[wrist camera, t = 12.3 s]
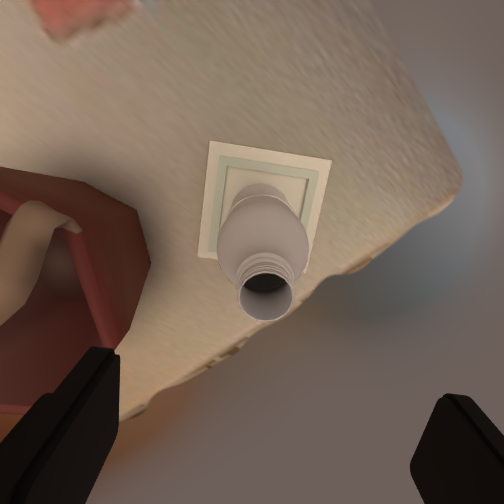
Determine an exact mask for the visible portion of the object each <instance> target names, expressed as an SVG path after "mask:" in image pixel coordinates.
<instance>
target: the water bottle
mask: <svg viewBox="0 0 504 504" xmlns="http://www.w3.org/2000/svg"><path fill="white" fill-rule="evenodd" d="M308 255H309V242H308V236H307V233H306V230H305V228H304V226H303V224H302V223H301V221H300V220H299V219H298V217H297V215H296V213H295V211H294V210H293V208H292V207H291V206H290V205H289V203H288V201H287V199H286V197H285V196H284V194H283V193H282V192H281V191H279V190H278V189H277V188H275V187H273V186H271V185H268V184H261V183H259V184H253V185H250V186H247V187H245V188H244V189H243V190H241V191H240V192H239V193H238V194H237V195H236V197H235V198H234V200H233V202H232V205H231V208H230V210H229V212H228V213H227V216H226V218H225V221H224V224H223V226H222V228H221V229H220V232H219V235H218V239H217V257H218V261H219V264H220V267H221V269H222V271H223V273H224V274H225V276H226V277H227V278H228V279H229V281H230V282H231V283H232V284H234V285H235V286H236V289H237V291H238V300H239V304H240V307H241V309H242V310H243V311H244V312H245V313H246V315H247V316H249V317H251V318H253V319H255V320H257V321H264V322H269V321H274V320H278V319H279V318H281V317H283V316H284V315H286V314H287V313H288V311H289V310H290V308H291V307H292V305H293V302H294V296H295V292H294V284H295V281H296V280H297V279H298V278H299V277H300V275H301V274H302V272H303V271H304V269H305V266H306V264H307V260H308Z"/></svg>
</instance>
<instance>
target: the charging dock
mask: <svg viewBox="0 0 504 504" xmlns="http://www.w3.org/2000/svg"><path fill="white" fill-rule="evenodd" d="M331 162H332V160H326V159H319V158H313V157H307V156H301V155H295V154H289V153H283V152H277V151H271V150H265V149H259V148H253V147H247V146H241V145H235V144H229V143H223V142H217V141H211V140H210V145H209V154H208V163H207V172H206V182H205V191H204V200H203V209H202V219H201V228H200V237H199V246H198V256H197V257H203V258H209V259H216V260H218V257H217V239H218V235H219V232H220V229H221V228H222V226H223V224H224V221H225V218H226V216H227V213H228V212H229V210H230V208H231V205H232V202H233V200H234V198H235V197H236V195H237V194H238V193H239V192H240V191H241V190H243V189H244V188H245V187H247V186H250V185H253V184H259V183H261V184H268V185H271V186H273V187H275V188H277V189H278V190H279V191H281V192H282V193H283V194H284V196H285V197H286V199H287V201H288V203H289V205H290V206H291V207H292V208H293V210H294V211H295V213H296V215H297V217H298V219H299V220H300V221H301V223H302V224H303V226H304V228H305V230H306V233H307V236H308V242H309V255H308V260H307V264H306V266H305V269H304V271H303V272H302V273H306V272H307V267H308V263H309V259H310V254H311V250H312V245H313V241H314V237H315V232H316V228H317V223H318V219H319V215H320V210H321V206H322V201H323V197H324V193H325V188H326V184H327V179H328V175H329V171H330V166H331Z"/></svg>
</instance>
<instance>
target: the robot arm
mask: <svg viewBox="0 0 504 504" xmlns="http://www.w3.org/2000/svg"><path fill="white" fill-rule="evenodd" d="M119 388H120V355H117V354H115V351H114V349H112V348H106V347H98V346H91V347H90V348H89V349H88V350H87V352H86V353H85V354H84V355H83V357H82V358H81V359H80V360H79V361H78V363H77V364H76V365H75V366H74V368H73V369H72V370H71V371H70V372H69V374H68V375H67V376H66V377H65V379H64V380H63V381H62V382H61V384H60V385H59V386H58V387H57V388H56V390H55V391H54V392H53V393H45V394H43V395H42V396H41V397H40V398H39V399H38V400H37V401H36V402H35V403H34V404H33V406H32V407H31V408H30V409H29V410H28V411H27V413H26V414H25V415H24V416H23V417H22V418H21V420H20V421H19V422H18V423H17V424H16V425H15V427H14V428H13V429H12V430H11V431H10V433H9V434H8V435H7V436H6V437H5V438H4V440H3V441H2V442H1V443H0V504H85V503H86V501H87V498H88V496H89V494H90V492H91V490H92V488H93V486H94V484H95V482H96V479H97V477H98V475H99V473H100V471H101V469H102V466H103V465H104V462H105V460H106V458H107V456H108V454H109V452H110V450H111V448H112V446H113V443H114V441H115V439H116V436H117V432H118V426H119ZM410 472H411V476H412V478H413V480H414V482H415V485H416V487H417V489H418V490H419V493H420V495H421V497H422V499H423V501H424V503H425V504H504V435H503V434H502V433H501V432H500V431H499V430H498V428H497V427H496V426H495V425H494V424H493V423H492V421H491V420H490V419H489V418H488V417H487V416H486V414H485V413H484V412H483V411H482V410H481V409H480V408H479V406H478V405H477V404H476V403H475V402H474V401H473V400H472V399H471V398H470V397H468V396H465V395H457V394H448V393H447V394H445V395H443V397H442V398H440V399H438V401H437V403H436V405H435V407H434V409H433V412H432V414H431V417H430V419H429V421H428V423H427V426H426V428H425V430H424V432H423V435H422V437H421V439H420V441H419V444H418V446H417V449H416V451H415V453H414V455H413V458H412V460H411V463H410Z"/></svg>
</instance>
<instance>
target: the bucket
mask: <svg viewBox="0 0 504 504" xmlns="http://www.w3.org/2000/svg"><path fill="white" fill-rule="evenodd" d="M150 264H151V261H150V258H149V254H148V250H147V246H146V243H145V239H144V235H143V232H142V228H141V224H140V221H139V217H138V213H137V210H135V209H133V208H131V207H129V206H127V205H126V204H124V203H122V202H120V201H118V200H116V199H114V198H112V197H111V196H109V195H107V194H105V193H103V192H101V191H99V190H98V189H96V188H94V187H92V186H90V185H88V184H86V183H84V182H81V181H75V180H70V179H65V178H59V177H54V176H48V175H43V174H37V173H32V172H26V171H21V170H15V169H10V168H4V167H0V413H2V414H17V415H25V414H26V413H27V411H28V410H29V409H30V408H31V407H32V406H33V404H34V403H35V402H36V401H37V400H38V399H39V398H40V397H41V396H42V395H43V394H45V393H53V392H54V391H55V390H56V388H57V387H58V386H59V385H60V384H61V382H62V381H63V380H64V379H65V377H66V376H67V375H68V374H69V372H70V371H71V370H72V369H73V368H74V366H75V365H76V364H77V363H78V361H79V360H80V359H81V358H82V357H83V355H84V354H85V353H86V352H87V350H88V349H89V348H90V347H91V346H98V347H106V348H112V349H114V350H115V349H116V348H117V346H118V345H119V343H120V342H121V341H122V339H123V338H124V336H125V335H126V333H127V332H128V331H129V329H130V326H131V323H132V320H133V317H134V314H135V311H136V308H137V305H138V301H139V298H140V295H141V292H142V289H143V286H144V283H145V280H146V277H147V273H148V270H149V267H150Z"/></svg>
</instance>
